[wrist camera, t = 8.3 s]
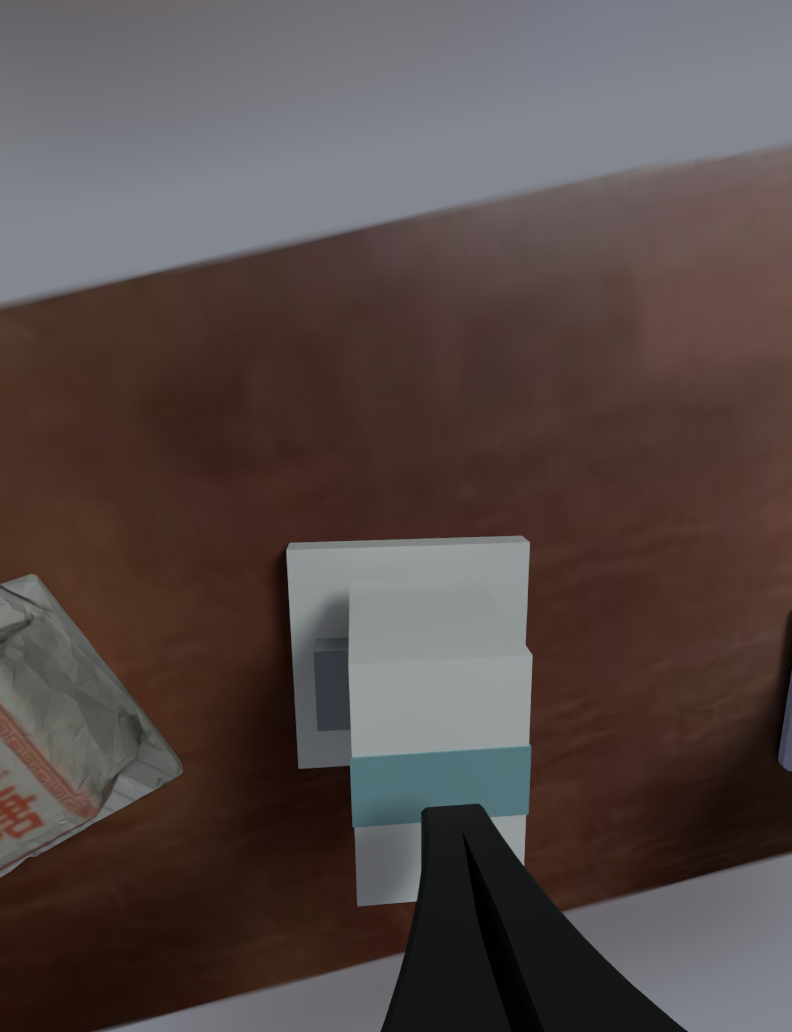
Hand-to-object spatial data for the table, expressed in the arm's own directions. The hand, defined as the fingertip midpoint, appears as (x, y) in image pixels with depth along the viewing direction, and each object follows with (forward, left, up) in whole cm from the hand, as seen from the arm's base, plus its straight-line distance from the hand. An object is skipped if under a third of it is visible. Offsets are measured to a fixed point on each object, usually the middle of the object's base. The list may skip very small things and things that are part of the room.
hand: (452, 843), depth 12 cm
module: (0, 0, -8) cm, 8 cm away
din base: (0, 0, -10) cm, 10 cm away
